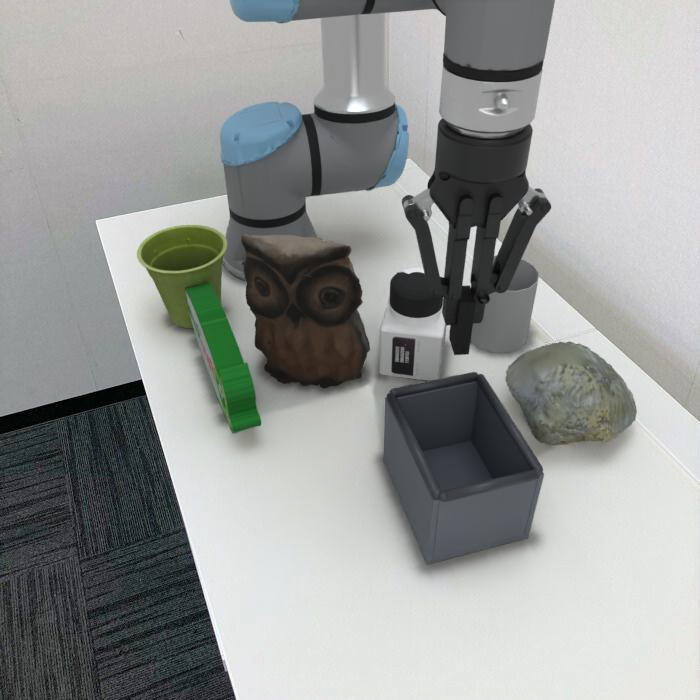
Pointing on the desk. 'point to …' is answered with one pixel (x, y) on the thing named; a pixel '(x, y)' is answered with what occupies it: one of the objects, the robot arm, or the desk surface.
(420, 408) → the basket
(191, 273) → the plant pot
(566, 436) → the decorative stone
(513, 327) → the cup
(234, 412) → the sign
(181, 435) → the desk surface
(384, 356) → the container
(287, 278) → the owl
